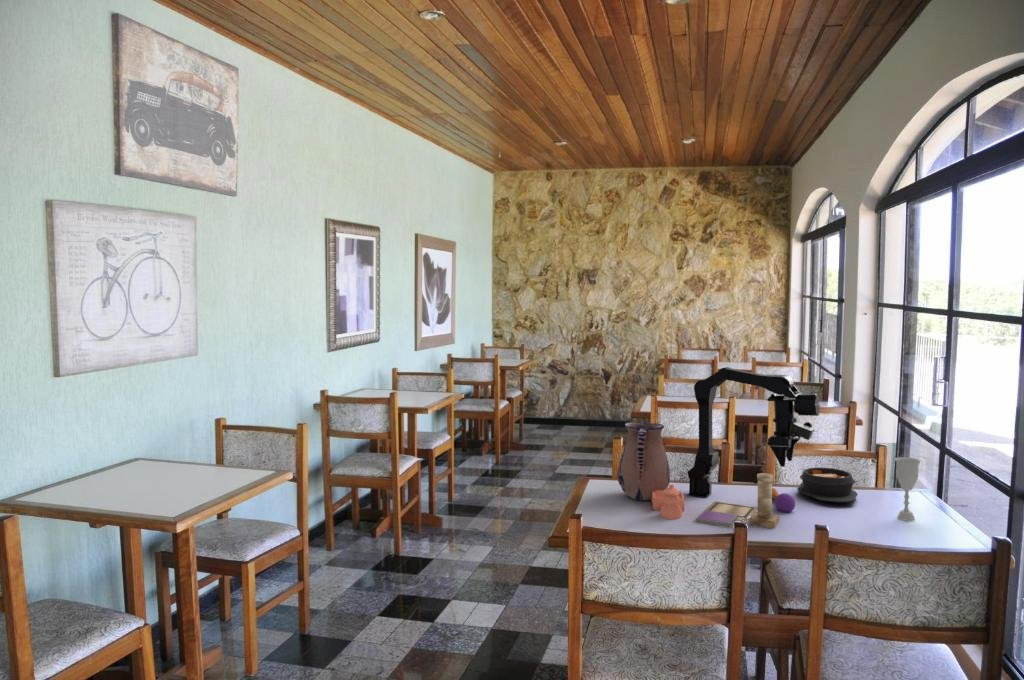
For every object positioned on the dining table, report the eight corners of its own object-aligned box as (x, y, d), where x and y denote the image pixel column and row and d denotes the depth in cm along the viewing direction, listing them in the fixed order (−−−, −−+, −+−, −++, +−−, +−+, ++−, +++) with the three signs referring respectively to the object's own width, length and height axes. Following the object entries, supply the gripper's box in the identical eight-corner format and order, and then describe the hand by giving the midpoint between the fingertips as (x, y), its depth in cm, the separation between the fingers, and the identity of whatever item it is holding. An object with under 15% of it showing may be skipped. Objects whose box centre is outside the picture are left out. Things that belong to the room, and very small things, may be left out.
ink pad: (695, 521, 218) (696, 518, 218) (705, 513, 227) (705, 509, 227) (729, 527, 213) (729, 523, 213) (738, 518, 222) (738, 514, 222)
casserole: (788, 486, 259) (788, 463, 258) (842, 487, 257) (843, 464, 256) (809, 507, 234) (809, 481, 233) (870, 508, 232) (870, 482, 232)
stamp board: (692, 523, 218) (692, 521, 218) (714, 502, 240) (714, 500, 240) (739, 530, 211) (739, 528, 211) (758, 508, 233) (758, 506, 233)
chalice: (896, 513, 226) (897, 456, 225) (921, 517, 222) (922, 459, 221) (890, 519, 221) (892, 460, 219) (916, 523, 216) (917, 463, 215)
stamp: (749, 526, 215) (750, 476, 214) (754, 519, 221) (755, 471, 220) (774, 530, 211) (775, 479, 211) (778, 523, 217) (779, 473, 217)
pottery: (651, 502, 240) (651, 473, 239) (680, 503, 239) (681, 473, 238) (656, 519, 222) (656, 487, 221) (688, 520, 221) (688, 488, 220)
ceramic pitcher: (666, 490, 254) (667, 419, 253) (674, 508, 233) (674, 430, 232) (616, 489, 256) (616, 419, 255) (618, 507, 235) (619, 430, 234)
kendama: (782, 485, 245) (799, 497, 226) (779, 503, 246) (795, 516, 226) (764, 482, 246) (779, 493, 226) (761, 499, 246) (776, 512, 226)
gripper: (804, 420, 220) (806, 471, 220) (817, 411, 235) (819, 459, 236) (766, 418, 226) (768, 468, 227) (781, 410, 242) (783, 457, 242)
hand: (786, 463), depth 233 cm, fingers open, 9 cm apart
